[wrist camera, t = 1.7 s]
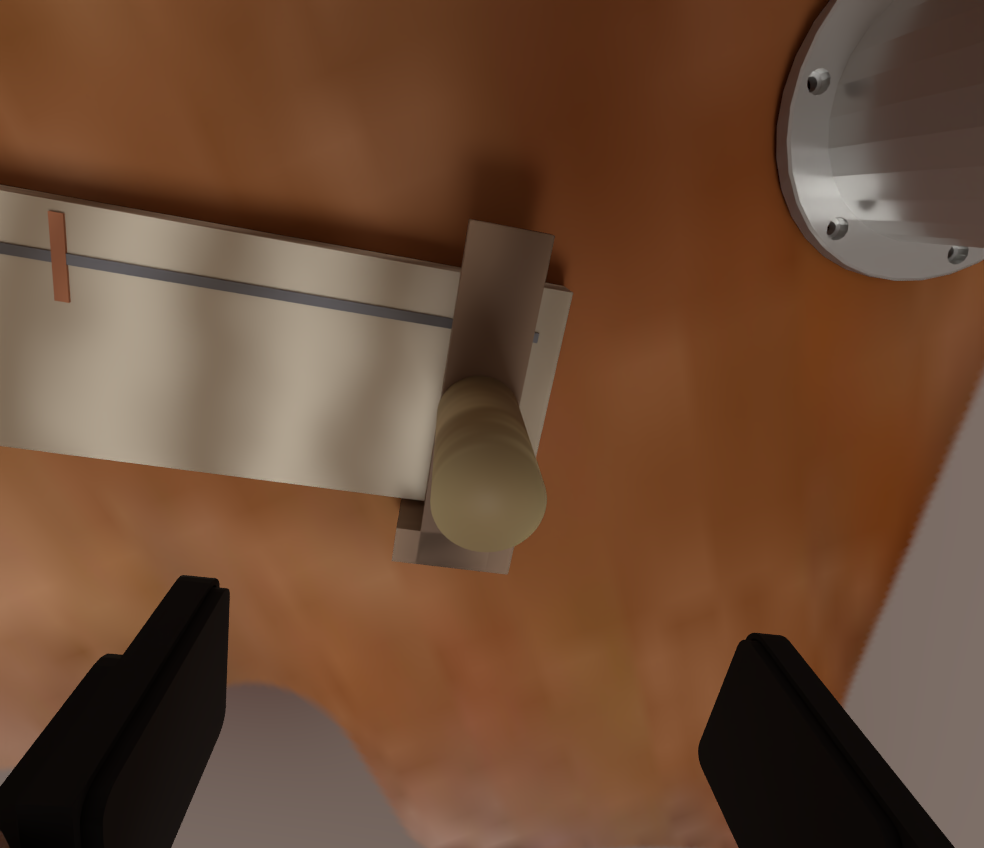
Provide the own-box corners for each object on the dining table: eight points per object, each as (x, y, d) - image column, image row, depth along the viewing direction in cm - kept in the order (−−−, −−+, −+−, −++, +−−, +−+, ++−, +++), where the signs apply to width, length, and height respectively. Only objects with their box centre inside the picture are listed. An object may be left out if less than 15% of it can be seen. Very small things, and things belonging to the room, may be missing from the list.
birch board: (563, 285, 25) (573, 293, 23) (518, 493, 28) (523, 515, 26) (-112, 164, 22) (-168, 160, 20) (-72, 414, 25) (-117, 432, 23)
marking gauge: (565, 236, 24) (643, 258, 14) (501, 533, 28) (526, 704, 19) (442, 212, 23) (435, 219, 13) (398, 521, 28) (369, 690, 18)
